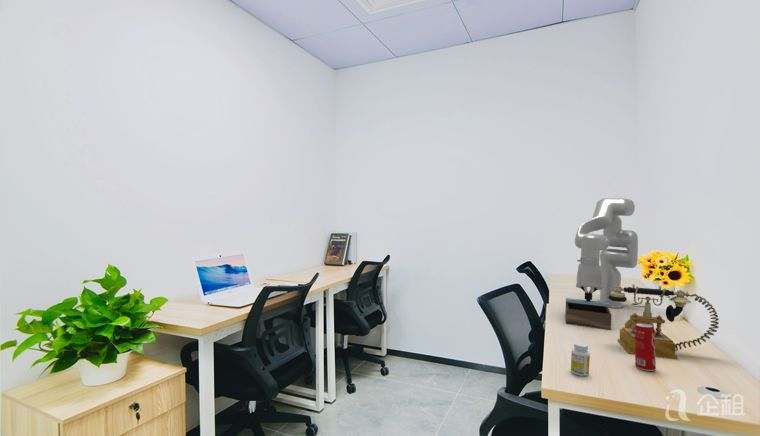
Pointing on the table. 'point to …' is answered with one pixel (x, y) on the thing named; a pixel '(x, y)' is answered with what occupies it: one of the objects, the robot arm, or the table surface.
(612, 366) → the table surface
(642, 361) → the beverage can
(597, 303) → the lid
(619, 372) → the table surface
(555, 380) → the table surface
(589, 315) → the storage box
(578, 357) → the supplement bottle
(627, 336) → the rotary telephone
